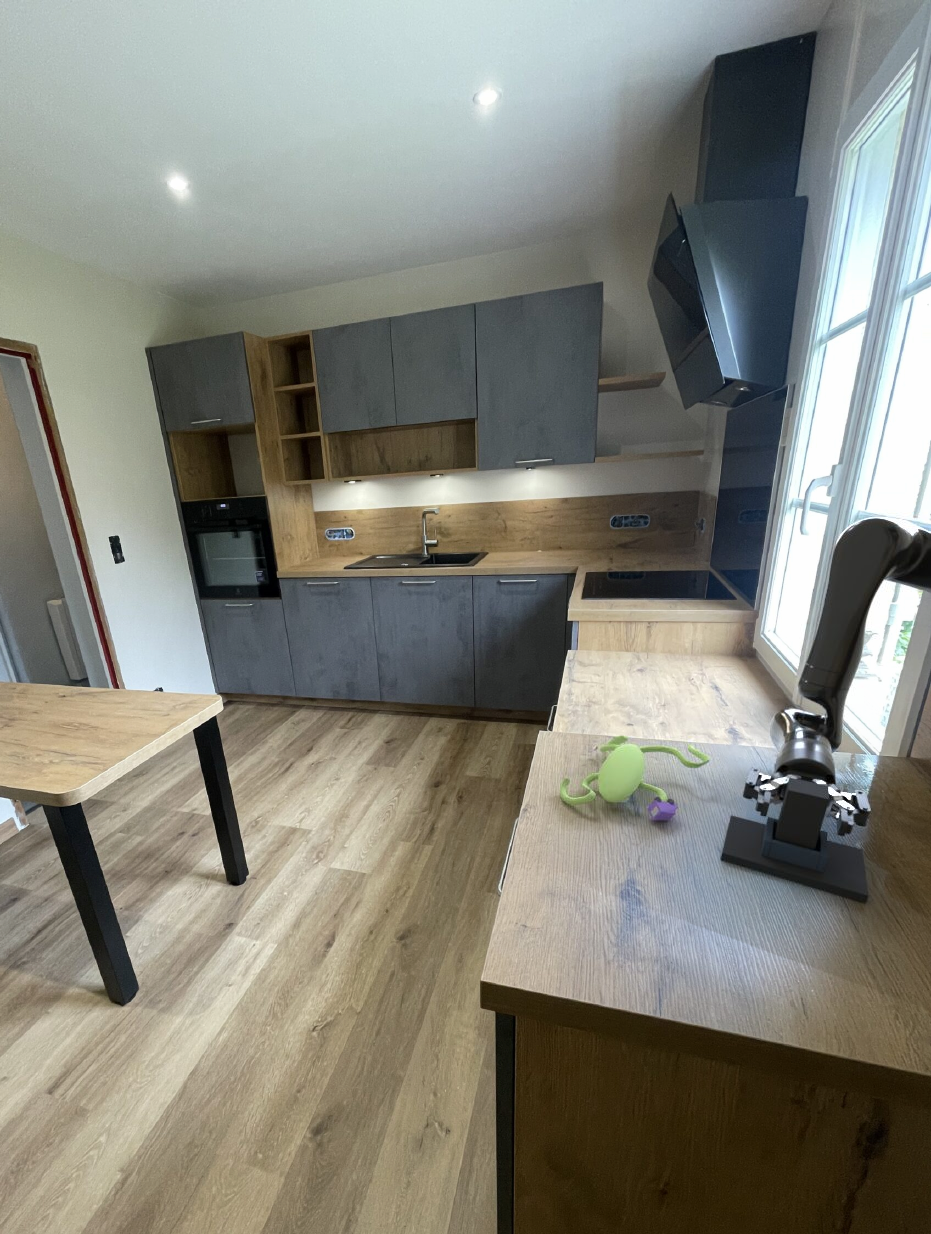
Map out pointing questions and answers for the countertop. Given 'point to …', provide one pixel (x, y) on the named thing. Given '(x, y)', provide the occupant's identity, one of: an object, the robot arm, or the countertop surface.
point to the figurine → (630, 776)
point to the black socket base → (797, 858)
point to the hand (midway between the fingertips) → (802, 820)
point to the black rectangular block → (802, 813)
